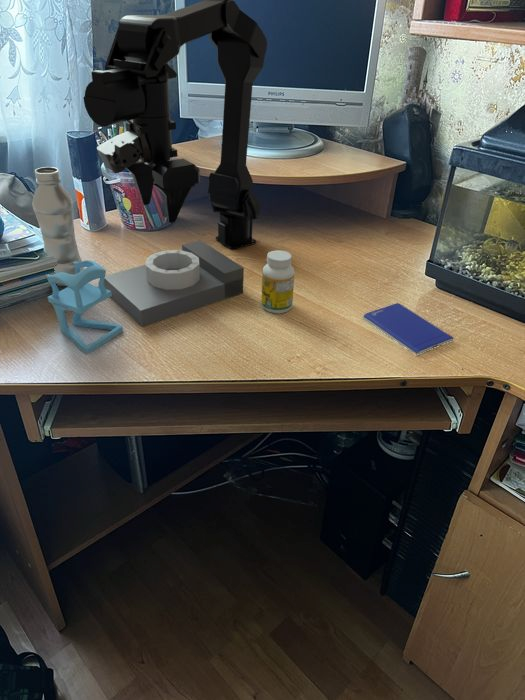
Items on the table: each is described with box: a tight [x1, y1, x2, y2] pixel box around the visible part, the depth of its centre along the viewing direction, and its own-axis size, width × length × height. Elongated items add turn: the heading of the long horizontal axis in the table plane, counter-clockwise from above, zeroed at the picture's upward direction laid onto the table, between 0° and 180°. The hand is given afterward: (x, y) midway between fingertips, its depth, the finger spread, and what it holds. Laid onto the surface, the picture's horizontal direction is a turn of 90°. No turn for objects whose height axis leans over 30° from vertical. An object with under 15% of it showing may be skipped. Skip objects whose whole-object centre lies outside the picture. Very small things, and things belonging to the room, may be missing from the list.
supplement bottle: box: [260, 249, 296, 314], centre depth 92 cm, size 5×5×10 cm
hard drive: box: [362, 302, 454, 355], centre depth 90 cm, size 2×8×12 cm
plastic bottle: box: [31, 166, 85, 287], centre depth 93 cm, size 6×7×20 cm
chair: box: [45, 259, 124, 354], centre depth 82 cm, size 8×8×12 cm
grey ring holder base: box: [104, 239, 245, 328], centre depth 95 cm, size 20×14×6 cm
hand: (158, 213), depth 91 cm, fingers open, 9 cm apart
